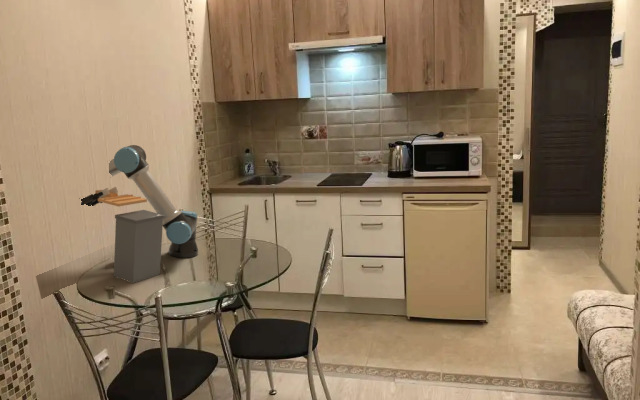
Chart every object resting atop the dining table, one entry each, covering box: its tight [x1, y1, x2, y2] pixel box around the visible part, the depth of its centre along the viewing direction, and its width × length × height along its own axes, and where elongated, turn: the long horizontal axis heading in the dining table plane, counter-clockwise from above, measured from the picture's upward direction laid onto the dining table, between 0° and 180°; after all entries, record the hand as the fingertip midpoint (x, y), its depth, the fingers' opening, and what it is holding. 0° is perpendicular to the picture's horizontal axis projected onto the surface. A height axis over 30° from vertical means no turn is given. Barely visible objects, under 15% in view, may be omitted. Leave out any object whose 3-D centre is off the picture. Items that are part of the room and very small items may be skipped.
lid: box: [94, 189, 148, 207], centre depth 232 cm, size 22×17×2 cm
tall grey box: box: [113, 209, 164, 284], centre depth 230 cm, size 13×17×28 cm
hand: (112, 190), depth 233 cm, fingers closed on lid, 4 cm apart
